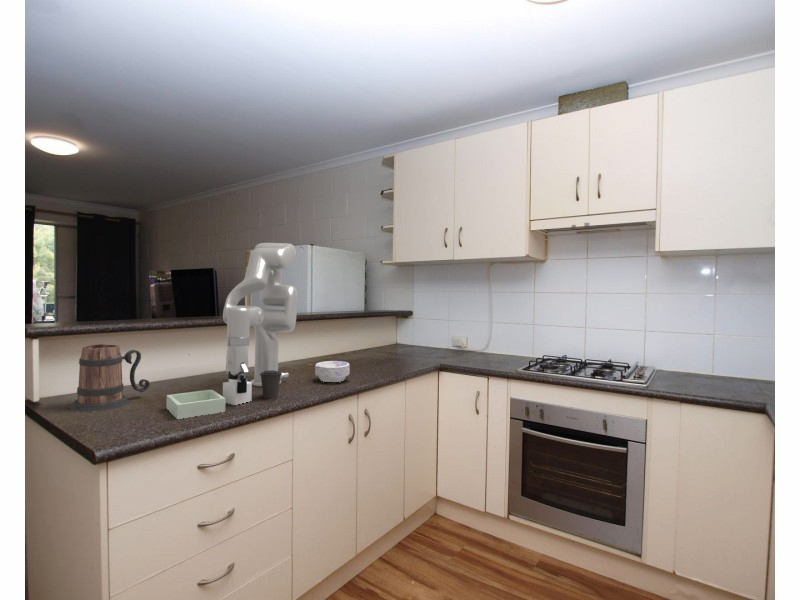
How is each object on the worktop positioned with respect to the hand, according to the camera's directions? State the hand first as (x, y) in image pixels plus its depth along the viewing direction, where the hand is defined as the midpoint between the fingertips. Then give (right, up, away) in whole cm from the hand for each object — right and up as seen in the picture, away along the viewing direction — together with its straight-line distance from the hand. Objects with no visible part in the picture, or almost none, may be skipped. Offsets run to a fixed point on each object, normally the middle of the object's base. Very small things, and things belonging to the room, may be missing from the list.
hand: (237, 390), depth 153 cm
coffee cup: (+10, -5, +7) cm, 13 cm away
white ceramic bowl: (+28, -4, +38) cm, 48 cm away
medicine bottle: (0, -4, 0) cm, 4 cm away
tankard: (-41, -3, -6) cm, 42 cm away
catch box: (-10, -4, -11) cm, 15 cm away
